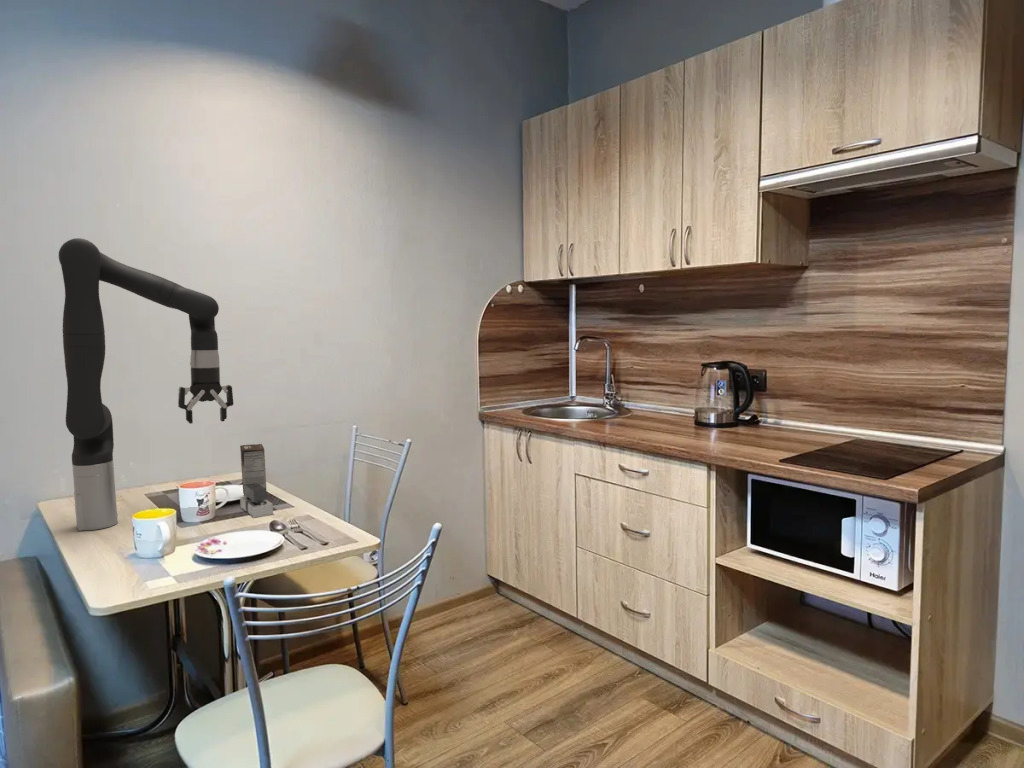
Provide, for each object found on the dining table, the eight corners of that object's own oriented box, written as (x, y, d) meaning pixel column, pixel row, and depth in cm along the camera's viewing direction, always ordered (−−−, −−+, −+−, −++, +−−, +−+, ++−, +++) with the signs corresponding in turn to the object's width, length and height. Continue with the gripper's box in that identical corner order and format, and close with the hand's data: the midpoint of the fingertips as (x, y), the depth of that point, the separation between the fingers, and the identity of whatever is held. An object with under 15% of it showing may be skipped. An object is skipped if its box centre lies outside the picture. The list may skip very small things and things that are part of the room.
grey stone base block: (253, 517, 185) (253, 504, 184) (240, 507, 195) (239, 495, 195) (273, 514, 188) (272, 501, 187) (259, 504, 198) (258, 492, 198)
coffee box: (242, 496, 207) (239, 445, 206) (264, 494, 210) (262, 443, 208) (244, 503, 199) (241, 450, 197) (267, 501, 202) (264, 448, 200)
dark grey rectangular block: (254, 515, 187) (253, 490, 186) (245, 508, 194) (244, 484, 193) (267, 513, 189) (266, 488, 188) (257, 506, 196) (256, 482, 195)
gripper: (180, 367, 185) (182, 425, 186) (234, 365, 193) (236, 421, 194) (175, 365, 191) (177, 422, 192) (228, 364, 199) (229, 418, 201)
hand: (206, 422), depth 193 cm, fingers open, 8 cm apart
